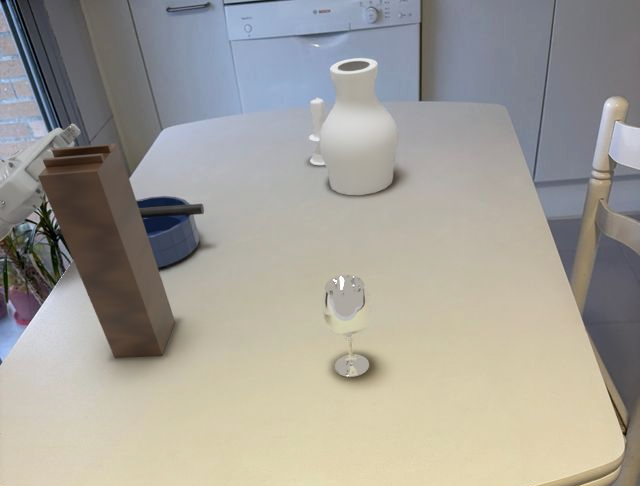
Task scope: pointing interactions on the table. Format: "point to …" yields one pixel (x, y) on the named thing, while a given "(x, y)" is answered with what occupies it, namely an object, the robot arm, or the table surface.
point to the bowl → (169, 231)
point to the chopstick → (171, 210)
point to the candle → (317, 128)
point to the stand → (109, 246)
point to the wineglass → (347, 318)
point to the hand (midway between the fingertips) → (65, 140)
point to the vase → (358, 132)
